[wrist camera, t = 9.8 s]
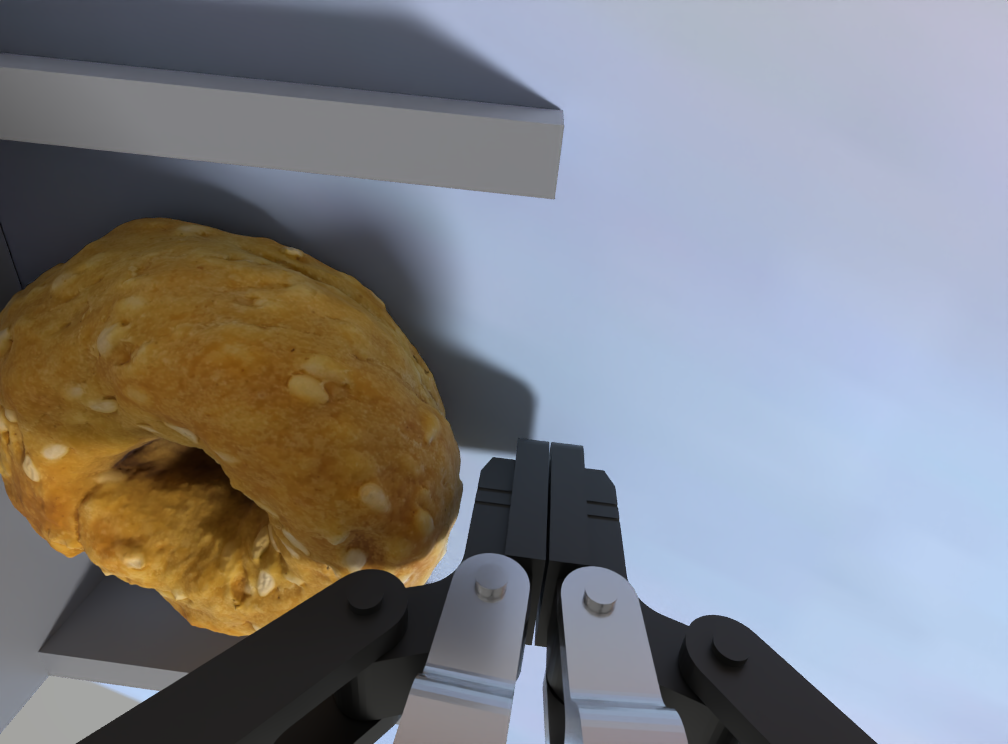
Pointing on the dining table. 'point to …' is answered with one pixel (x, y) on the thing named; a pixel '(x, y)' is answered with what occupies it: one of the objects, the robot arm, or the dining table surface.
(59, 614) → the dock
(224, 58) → the dining table surface
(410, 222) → the dining table surface
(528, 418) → the dining table surface
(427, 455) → the bagel
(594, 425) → the dining table surface
